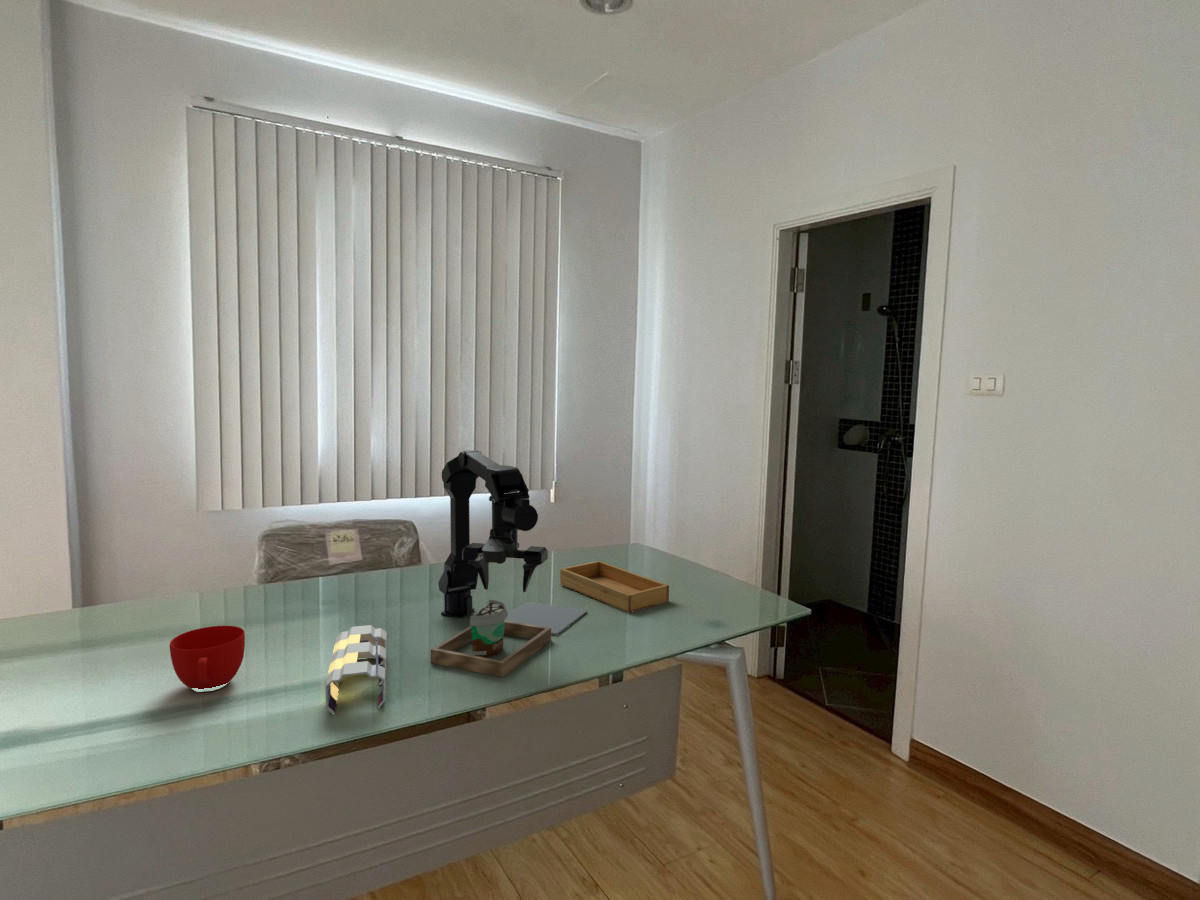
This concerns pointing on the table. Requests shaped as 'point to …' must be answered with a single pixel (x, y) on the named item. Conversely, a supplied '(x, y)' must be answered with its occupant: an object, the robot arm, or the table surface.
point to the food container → (488, 629)
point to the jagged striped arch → (345, 660)
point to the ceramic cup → (208, 655)
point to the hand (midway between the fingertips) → (505, 590)
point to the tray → (614, 586)
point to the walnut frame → (448, 657)
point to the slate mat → (545, 616)
